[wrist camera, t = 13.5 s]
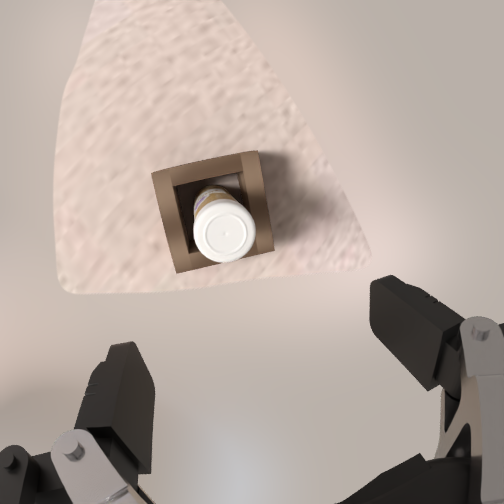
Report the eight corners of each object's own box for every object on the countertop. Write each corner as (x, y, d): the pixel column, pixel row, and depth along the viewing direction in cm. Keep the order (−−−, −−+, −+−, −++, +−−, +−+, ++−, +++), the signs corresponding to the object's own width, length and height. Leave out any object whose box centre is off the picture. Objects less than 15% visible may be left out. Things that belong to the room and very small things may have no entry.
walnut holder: (157, 171, 31) (151, 173, 27) (248, 151, 33) (257, 150, 28) (178, 257, 35) (176, 273, 30) (263, 238, 36) (274, 250, 32)
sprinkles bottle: (202, 178, 33) (208, 192, 20) (238, 193, 34) (267, 216, 21) (187, 216, 34) (184, 252, 21) (223, 229, 35) (242, 272, 22)
